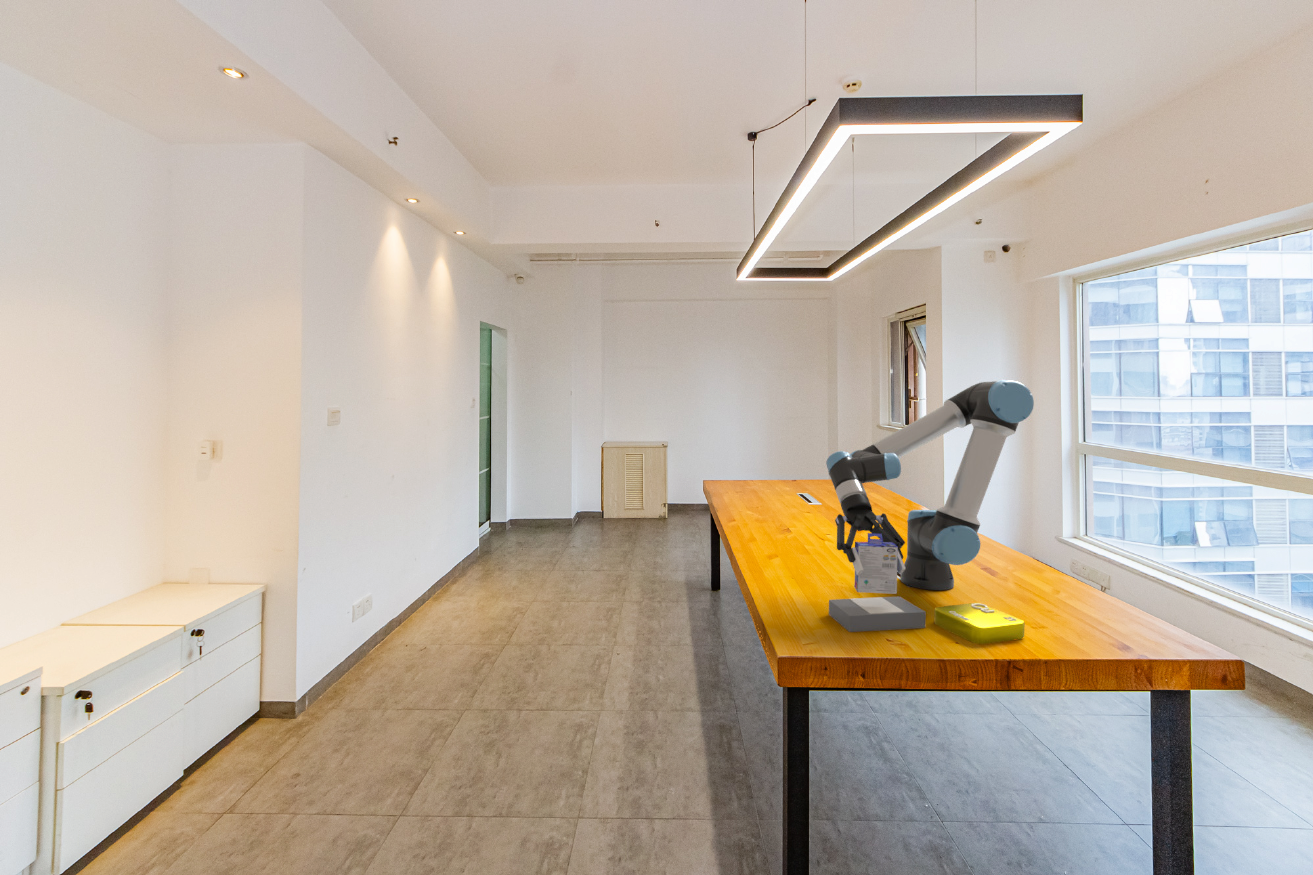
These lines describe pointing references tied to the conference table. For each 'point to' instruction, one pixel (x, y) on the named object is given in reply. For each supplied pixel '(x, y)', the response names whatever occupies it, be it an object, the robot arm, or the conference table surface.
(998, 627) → the element tile
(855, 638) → the conference table surface
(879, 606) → the grey flat block
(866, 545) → the ink cartridge box
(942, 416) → the robot arm
